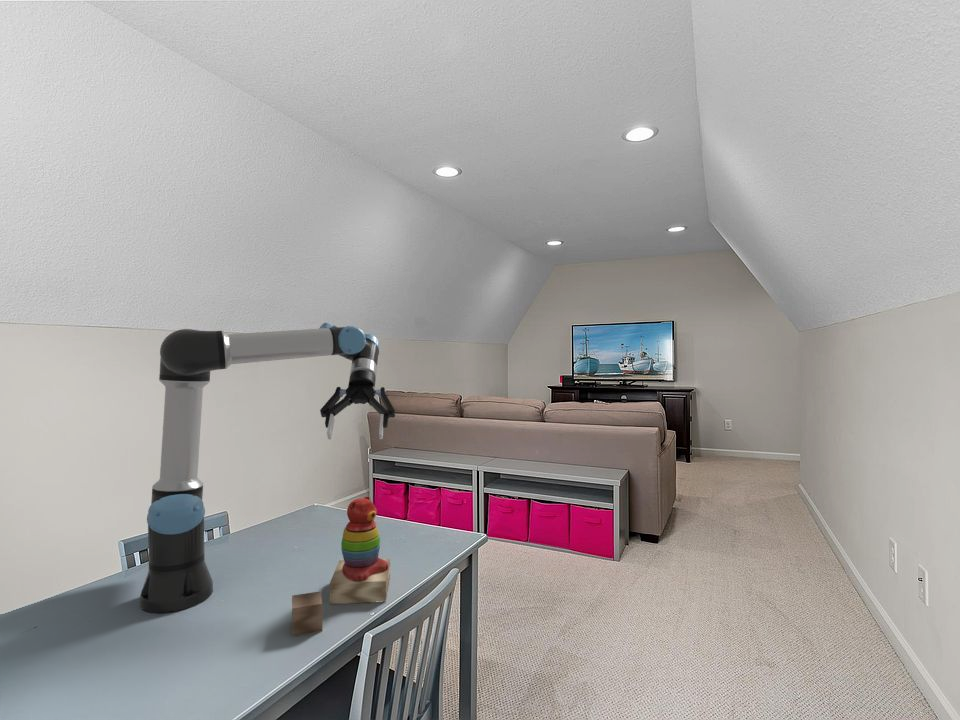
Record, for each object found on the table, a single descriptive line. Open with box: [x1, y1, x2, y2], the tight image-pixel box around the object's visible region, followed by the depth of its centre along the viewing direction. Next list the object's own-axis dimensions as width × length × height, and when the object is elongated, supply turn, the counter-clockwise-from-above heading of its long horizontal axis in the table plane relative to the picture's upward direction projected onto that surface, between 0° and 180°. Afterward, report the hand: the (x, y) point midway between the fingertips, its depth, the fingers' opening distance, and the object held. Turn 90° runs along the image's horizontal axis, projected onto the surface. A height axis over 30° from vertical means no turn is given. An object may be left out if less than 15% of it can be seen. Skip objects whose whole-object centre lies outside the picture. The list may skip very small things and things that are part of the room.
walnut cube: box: [291, 591, 323, 637], centre depth 113 cm, size 6×6×6 cm
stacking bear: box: [340, 495, 388, 581], centre depth 130 cm, size 11×10×18 cm
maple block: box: [329, 558, 391, 605], centre depth 130 cm, size 13×13×5 cm
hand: (354, 436), depth 141 cm, fingers open, 13 cm apart
